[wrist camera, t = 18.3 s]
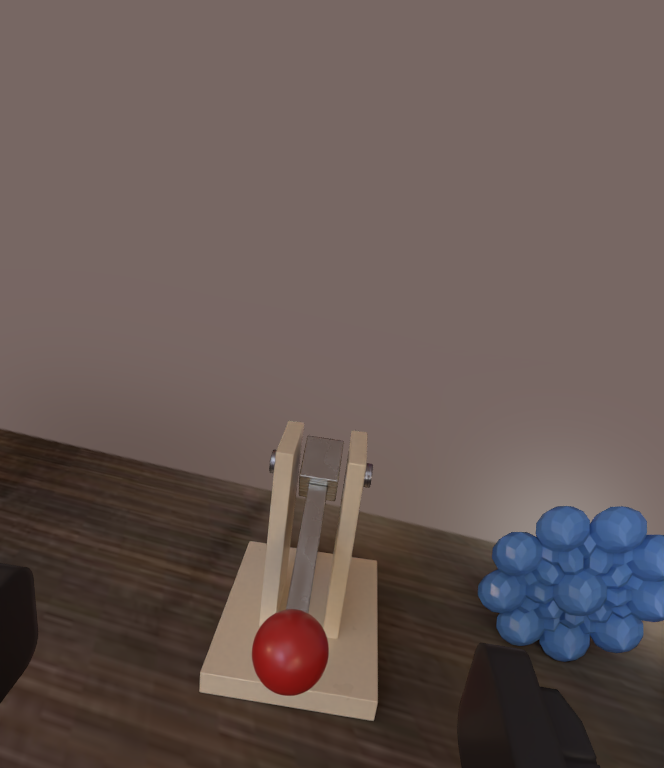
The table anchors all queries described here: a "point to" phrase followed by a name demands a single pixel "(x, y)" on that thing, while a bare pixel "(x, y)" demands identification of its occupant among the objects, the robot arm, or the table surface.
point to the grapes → (577, 582)
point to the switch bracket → (327, 605)
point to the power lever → (301, 586)
